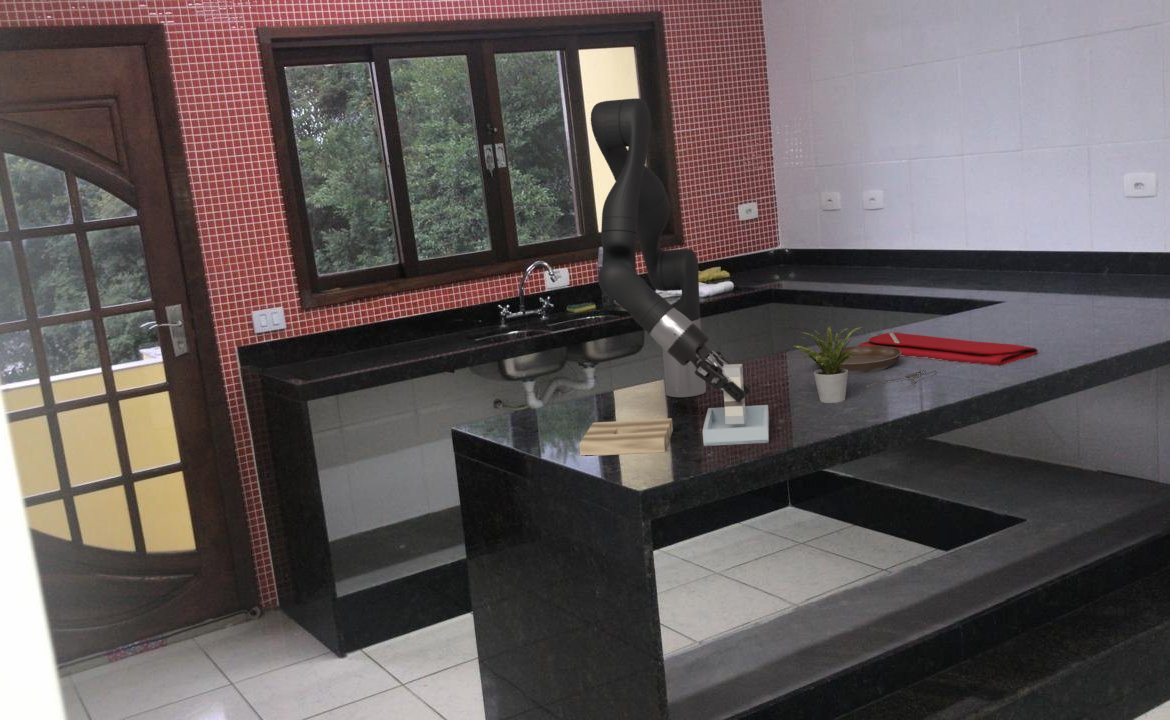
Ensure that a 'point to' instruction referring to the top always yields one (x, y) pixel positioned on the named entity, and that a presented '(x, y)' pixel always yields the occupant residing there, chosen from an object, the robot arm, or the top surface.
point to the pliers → (902, 378)
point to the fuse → (733, 408)
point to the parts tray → (736, 427)
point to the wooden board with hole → (627, 437)
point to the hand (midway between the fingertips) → (744, 395)
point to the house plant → (830, 366)
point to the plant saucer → (869, 358)
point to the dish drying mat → (952, 348)
